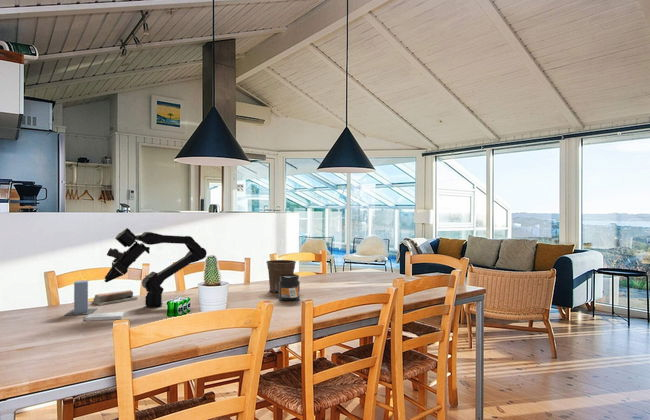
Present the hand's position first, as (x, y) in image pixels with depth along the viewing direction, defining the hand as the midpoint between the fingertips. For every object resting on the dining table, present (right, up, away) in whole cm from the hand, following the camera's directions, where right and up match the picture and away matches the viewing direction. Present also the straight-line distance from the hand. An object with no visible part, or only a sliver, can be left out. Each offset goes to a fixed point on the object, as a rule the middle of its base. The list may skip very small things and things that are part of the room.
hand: (105, 280), depth 195 cm
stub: (-9, -13, -3) cm, 16 cm away
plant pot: (+73, -14, +49) cm, 88 cm away
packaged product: (-6, -14, +21) cm, 26 cm away
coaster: (-9, -14, -3) cm, 17 cm away
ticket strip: (+6, -14, -12) cm, 19 cm away
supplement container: (+79, -14, +25) cm, 84 cm away
